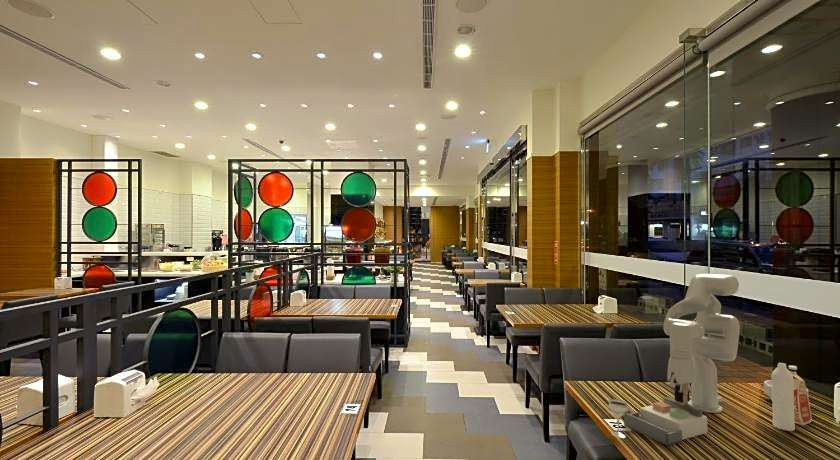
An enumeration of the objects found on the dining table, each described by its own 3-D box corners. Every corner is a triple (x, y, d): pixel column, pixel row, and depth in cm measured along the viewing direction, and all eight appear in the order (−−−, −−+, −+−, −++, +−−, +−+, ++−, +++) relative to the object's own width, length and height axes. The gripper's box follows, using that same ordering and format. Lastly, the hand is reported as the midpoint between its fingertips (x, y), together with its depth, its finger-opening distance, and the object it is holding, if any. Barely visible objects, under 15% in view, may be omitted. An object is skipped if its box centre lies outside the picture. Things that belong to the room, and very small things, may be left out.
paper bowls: (806, 412, 176) (806, 393, 176) (761, 402, 188) (760, 384, 188) (811, 403, 186) (810, 385, 186) (767, 394, 198) (767, 377, 198)
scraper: (667, 403, 170) (667, 377, 171) (702, 416, 157) (702, 388, 158) (663, 404, 169) (662, 378, 170) (697, 417, 156) (697, 389, 157)
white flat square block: (667, 416, 171) (667, 401, 172) (707, 432, 157) (707, 416, 157) (640, 422, 165) (640, 407, 165) (679, 440, 150) (679, 423, 151)
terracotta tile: (660, 406, 167) (660, 401, 167) (671, 410, 163) (671, 405, 163) (652, 408, 165) (652, 403, 165) (663, 412, 161) (663, 407, 161)
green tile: (677, 413, 160) (677, 407, 160) (688, 417, 156) (688, 412, 156) (669, 414, 159) (669, 409, 159) (680, 419, 154) (680, 414, 154)
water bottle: (768, 424, 164) (766, 361, 165) (783, 423, 165) (781, 360, 166) (790, 434, 156) (788, 367, 157) (805, 433, 156) (803, 367, 157)
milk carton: (803, 425, 163) (801, 374, 164) (774, 416, 172) (773, 368, 172) (813, 421, 168) (811, 371, 168) (785, 412, 176) (783, 365, 176)
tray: (638, 421, 166) (638, 409, 166) (682, 441, 150) (681, 427, 150) (624, 425, 163) (623, 412, 163) (667, 445, 146) (667, 431, 147)
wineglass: (619, 440, 150) (619, 407, 151) (604, 432, 157) (604, 400, 157) (632, 436, 153) (632, 404, 154) (617, 429, 159) (617, 397, 160)
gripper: (685, 350, 171) (686, 394, 170) (658, 354, 164) (659, 400, 164) (704, 354, 164) (704, 401, 163) (676, 358, 157) (677, 407, 157)
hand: (682, 400), depth 163 cm, fingers closed on scraper, 2 cm apart
